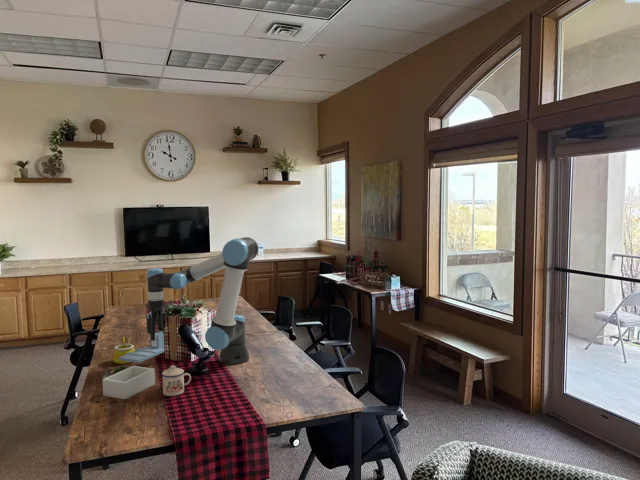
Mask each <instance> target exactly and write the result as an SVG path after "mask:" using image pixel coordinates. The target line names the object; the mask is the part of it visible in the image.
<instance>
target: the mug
mask: <svg viewBox="0 0 640 480" xmlns="http://www.w3.org/2000/svg"><path fill="white" fill-rule="evenodd" d="M131 337H132V336H131V335H129V338H128V343H126V341H125V337H124V336H123V337H122V344H118V345H115V346H114V348H113V355H112V356H113V357H112V360H113V363H114V364H119V365H124V364H130V363H131V362H129V361H123V360H119V357H121V356H123V355H126V354H127V353H128V352H130V353H131V352H133V351H136V349H135V345H134V344H131V343H130V340H131Z"/></svg>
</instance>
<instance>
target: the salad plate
mask: <svg viewBox="0 0 640 480" xmlns="http://www.w3.org/2000/svg"><path fill="white" fill-rule="evenodd" d="M129 367H132V366H130V365H129V366H123V365H120V366H118V367H117V366H116V367H113V368H112V369H113V370H111V371H110V370H109V369H105V370H104V372H105V373H104V374H103V379H105V378H107V377H109V376H111V375H114V374H116V373H118V372H120V371H123V370H125V369H127V368H129Z"/></svg>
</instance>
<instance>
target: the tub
mask: <svg viewBox="0 0 640 480" xmlns="http://www.w3.org/2000/svg"><path fill="white" fill-rule="evenodd" d="M155 370H156V369H155V368H153V367H152V368H151V367H144V366H138V365H132V366H131V367H129V368H127V369H125V370H123V371H120V372H118V373H116V374H114V375H111V376H109V377H107V378H102V395H103V397H108V398H109V397H110V398H115V399H121V400H127V399H129V398H131V397H133V396H135V395H137V394H139V393H141V392H143V391H145V390H147V389H148V388H149V389H150V387H152V386H154V385H156V376H155V375H156V371H155Z"/></svg>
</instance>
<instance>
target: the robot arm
mask: <svg viewBox="0 0 640 480" xmlns="http://www.w3.org/2000/svg"><path fill="white" fill-rule="evenodd" d="M258 253H259V245H258V242H257V241H256V240H255V239H254V238H252V237H249V236H248V237H246V236H245V237H241V238H234V239H231V240H229V241H227V242H226V243H225V244H224V246H223V248H222V252H221V253H219V254H216V255H214V256H212V257H210V258H207V259H206V260H204V261H201V262H199V263H196V264H195V265H192V266H191V267H187V268H186V269H182V270H181V271H180V270H179V271H176V272H173V273H172V272H170V273H169V272H164V270H163V268H159V267H155V268H149V269H147V271H146V273H147V275H146V276H147V277H146V281H147V299H148V300H147V304H148V305H147V307H148V308H149V313H148V314H145V319H146V333H147V334H149V335H150V334H151V341H152V346H153V347H157V334H155V332H159V333H164V332H165V331H166V329H164V328H165V324H166V325H167V312H168V310H167V309H165V308H163V307H165V299H164V298H165V296H164V295H165V293H164V291H165V290H164V289H175V290H181V289H184V288H185V286H187V285H190V284H193V283H194V282H196V281H199V280H200V279H203V278H205V277H207V276H209V275H212V274H214V273H217V272H218V271H220V270H224V269H225V271H224V277H223V283H222V287H221V291H220V297H219V301H218V305H217V310H216V315H215V316H213V317H212V319H211V323H210V327H208V328H207V330H206V331H205V332H204V333H205V335H204V338H205V342H206V344H207V345H208V346H209V347H210V348H212V349H213V350H216V351H218V350H219V351H220V353H219V358H218V360H219V362H220V364H225V365H238V364H243V363H247V362H248V361H249V360H250V353H249V350H248V348H247V344H246V343H247V342H246V320H245V316H244V315H241V314H236V312H237V311H236V310H237V306H238V301H239V296H240V293H241V286H242V282H243V279H244V273H245V272H247V270H248V269H249V264H250V261H253V260H255V258H256V257H257V256H258ZM163 324H164V326H163ZM157 328H158V330H156V329H157ZM151 341H150V342H151Z"/></svg>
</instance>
